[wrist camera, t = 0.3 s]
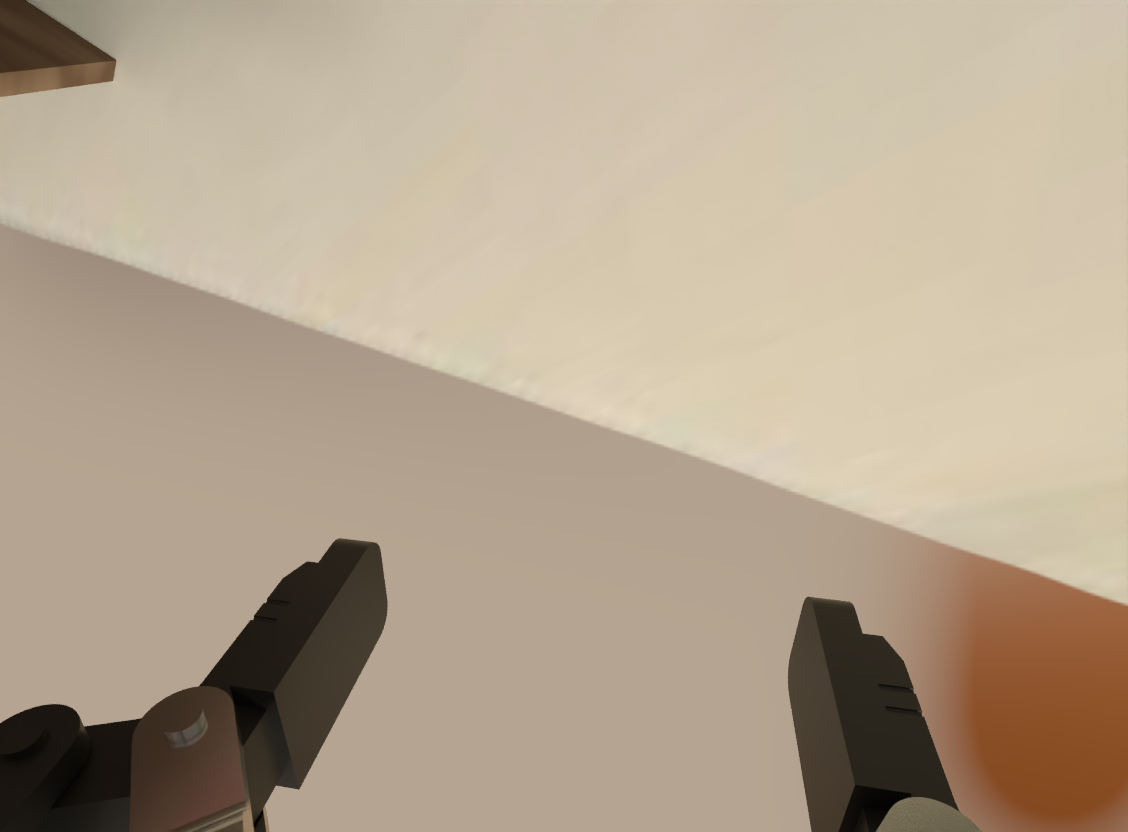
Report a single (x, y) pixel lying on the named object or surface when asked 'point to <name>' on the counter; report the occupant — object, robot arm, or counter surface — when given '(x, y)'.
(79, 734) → the robot arm
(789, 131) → the counter surface
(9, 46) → the stepped shelf
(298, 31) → the counter surface
